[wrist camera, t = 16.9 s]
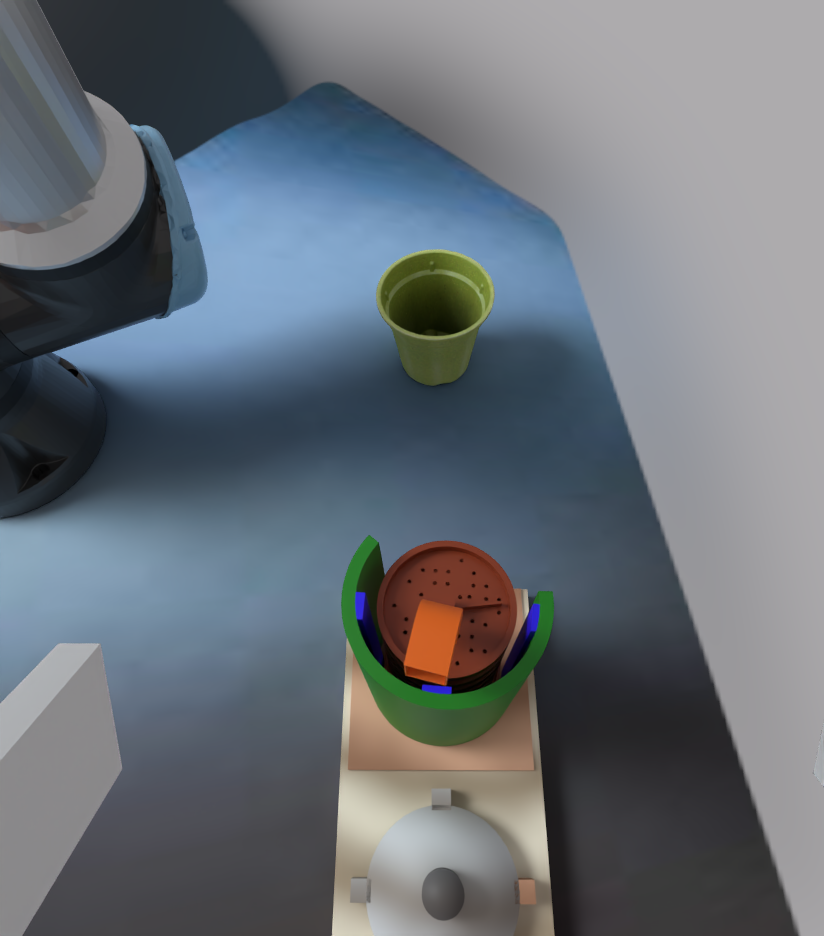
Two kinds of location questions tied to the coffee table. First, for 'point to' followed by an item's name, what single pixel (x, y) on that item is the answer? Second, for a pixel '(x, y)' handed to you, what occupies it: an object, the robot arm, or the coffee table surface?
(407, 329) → the plant pot
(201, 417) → the coffee table surface
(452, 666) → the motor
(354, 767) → the board
